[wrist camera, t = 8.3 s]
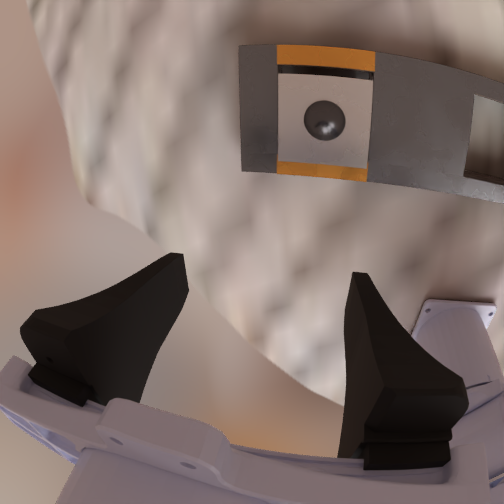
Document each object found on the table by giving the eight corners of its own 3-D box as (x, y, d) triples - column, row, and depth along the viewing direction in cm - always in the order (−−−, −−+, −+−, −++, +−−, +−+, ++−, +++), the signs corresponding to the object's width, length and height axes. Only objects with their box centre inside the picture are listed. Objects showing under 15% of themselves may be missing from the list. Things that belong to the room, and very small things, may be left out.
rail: (527, 201, 17) (540, 213, 15) (248, 162, 21) (240, 172, 20) (544, 103, 13) (561, 108, 11) (246, 48, 17) (237, 45, 15)
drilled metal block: (353, 138, 19) (366, 169, 13) (292, 133, 20) (277, 161, 14) (356, 79, 17) (373, 80, 11) (293, 74, 18) (278, 73, 12)
